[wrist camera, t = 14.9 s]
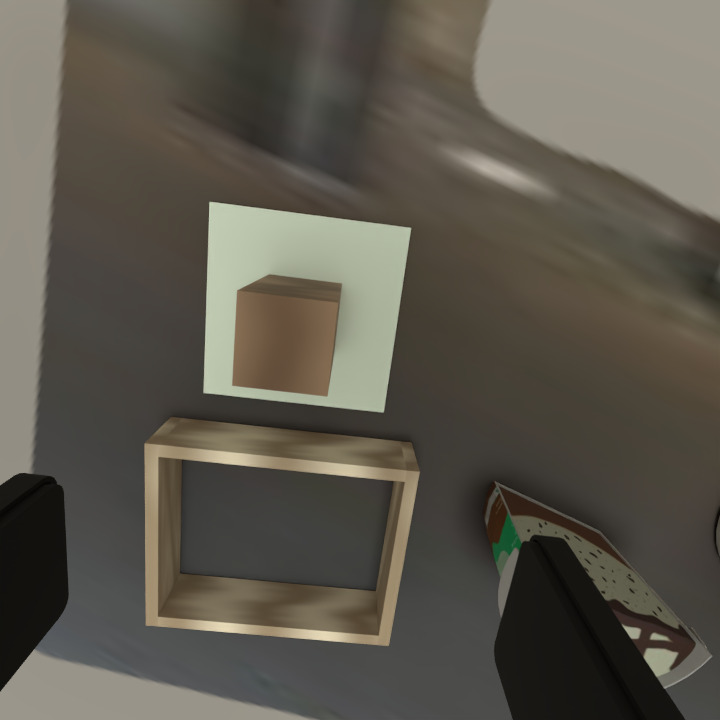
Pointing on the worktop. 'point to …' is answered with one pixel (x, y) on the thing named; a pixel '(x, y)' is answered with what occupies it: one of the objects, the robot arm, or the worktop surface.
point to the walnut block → (286, 334)
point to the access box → (263, 598)
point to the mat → (316, 262)
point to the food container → (595, 580)
